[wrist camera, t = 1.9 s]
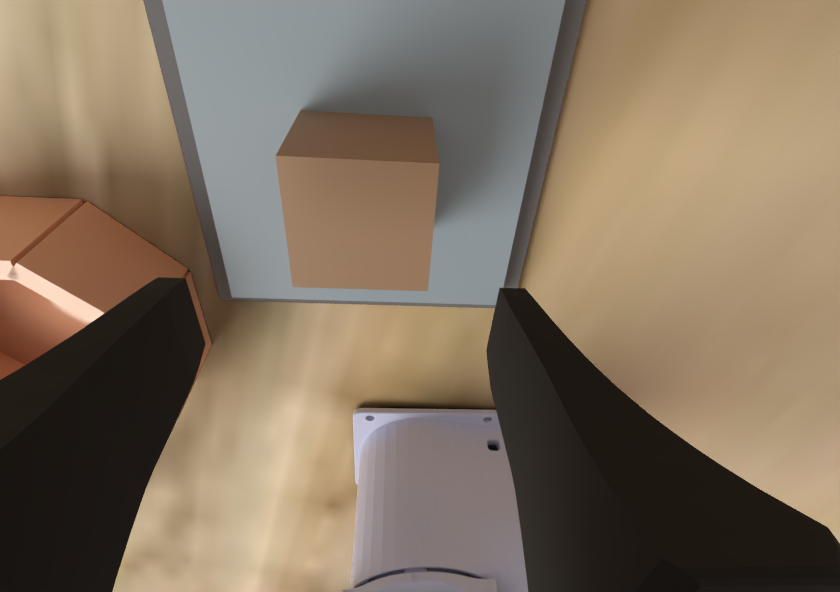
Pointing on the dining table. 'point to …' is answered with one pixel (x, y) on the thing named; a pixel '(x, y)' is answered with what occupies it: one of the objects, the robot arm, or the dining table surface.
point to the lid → (365, 140)
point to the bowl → (68, 273)
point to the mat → (534, 182)
